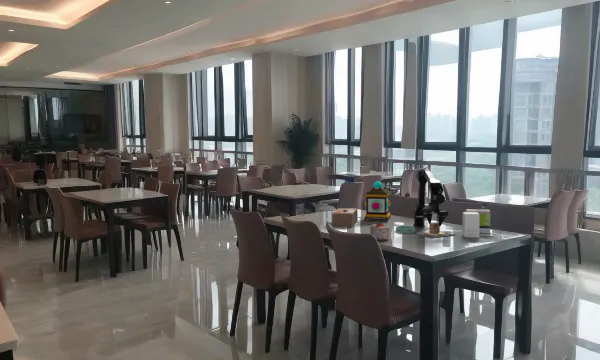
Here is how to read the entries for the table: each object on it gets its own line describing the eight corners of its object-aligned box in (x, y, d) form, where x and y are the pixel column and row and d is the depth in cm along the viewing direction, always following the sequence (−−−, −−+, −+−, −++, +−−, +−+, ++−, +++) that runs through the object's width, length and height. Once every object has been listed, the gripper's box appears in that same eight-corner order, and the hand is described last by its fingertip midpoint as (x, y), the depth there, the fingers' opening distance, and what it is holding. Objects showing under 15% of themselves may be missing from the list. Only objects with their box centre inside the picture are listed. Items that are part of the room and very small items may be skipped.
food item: (390, 240, 296) (391, 224, 295) (379, 241, 293) (379, 225, 292) (378, 236, 309) (378, 221, 308) (368, 237, 306) (368, 222, 305)
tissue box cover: (352, 227, 341) (352, 213, 340) (332, 227, 345) (332, 213, 344) (357, 221, 366) (357, 208, 365) (338, 221, 370) (338, 208, 369)
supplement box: (476, 235, 309) (477, 211, 307) (479, 237, 300) (480, 214, 299) (462, 234, 310) (462, 211, 309) (464, 237, 301) (464, 213, 300)
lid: (435, 231, 320) (435, 220, 319) (449, 234, 308) (449, 223, 308) (419, 233, 314) (419, 222, 313) (433, 236, 302) (434, 225, 302)
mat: (437, 231, 323) (437, 230, 323) (455, 235, 308) (455, 234, 308) (414, 234, 313) (414, 233, 313) (431, 238, 299) (431, 237, 299)
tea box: (489, 231, 320) (490, 209, 319) (490, 234, 310) (490, 211, 309) (465, 230, 325) (466, 208, 324) (465, 233, 315) (466, 210, 314)
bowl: (406, 229, 331) (406, 225, 331) (418, 232, 320) (418, 227, 320) (392, 231, 325) (392, 226, 325) (404, 234, 315) (404, 229, 314)
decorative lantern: (367, 217, 384) (367, 179, 381) (392, 218, 378) (392, 180, 375) (362, 221, 365) (362, 182, 362) (389, 222, 359) (389, 182, 356)
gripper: (415, 200, 314) (415, 224, 315) (435, 203, 297) (435, 228, 299) (428, 199, 319) (428, 222, 320) (449, 202, 302) (448, 227, 304)
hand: (434, 225), depth 310 cm, fingers open, 9 cm apart
